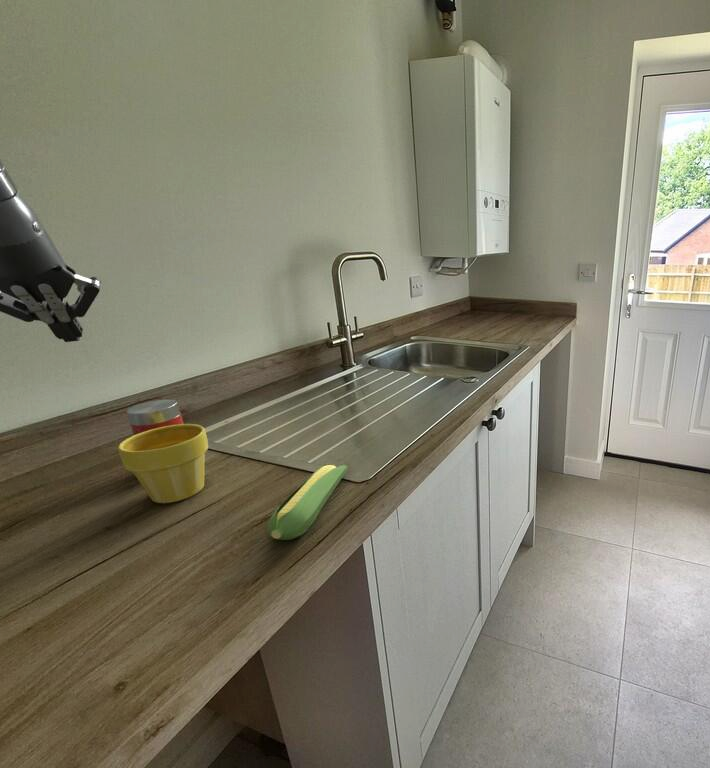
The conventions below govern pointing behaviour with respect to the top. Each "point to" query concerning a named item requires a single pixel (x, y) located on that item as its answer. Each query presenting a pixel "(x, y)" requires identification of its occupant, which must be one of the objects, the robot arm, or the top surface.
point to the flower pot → (167, 461)
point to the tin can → (154, 415)
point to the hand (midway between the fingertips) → (73, 338)
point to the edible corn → (305, 503)
